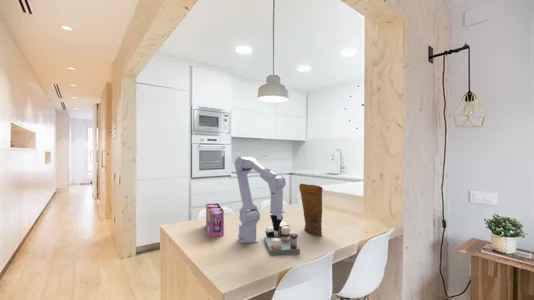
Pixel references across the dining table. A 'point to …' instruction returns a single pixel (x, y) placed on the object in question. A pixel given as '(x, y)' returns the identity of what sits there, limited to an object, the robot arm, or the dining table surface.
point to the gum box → (214, 220)
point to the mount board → (284, 246)
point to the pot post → (293, 241)
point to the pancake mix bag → (312, 208)
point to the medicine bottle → (272, 233)
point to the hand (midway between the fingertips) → (276, 230)
